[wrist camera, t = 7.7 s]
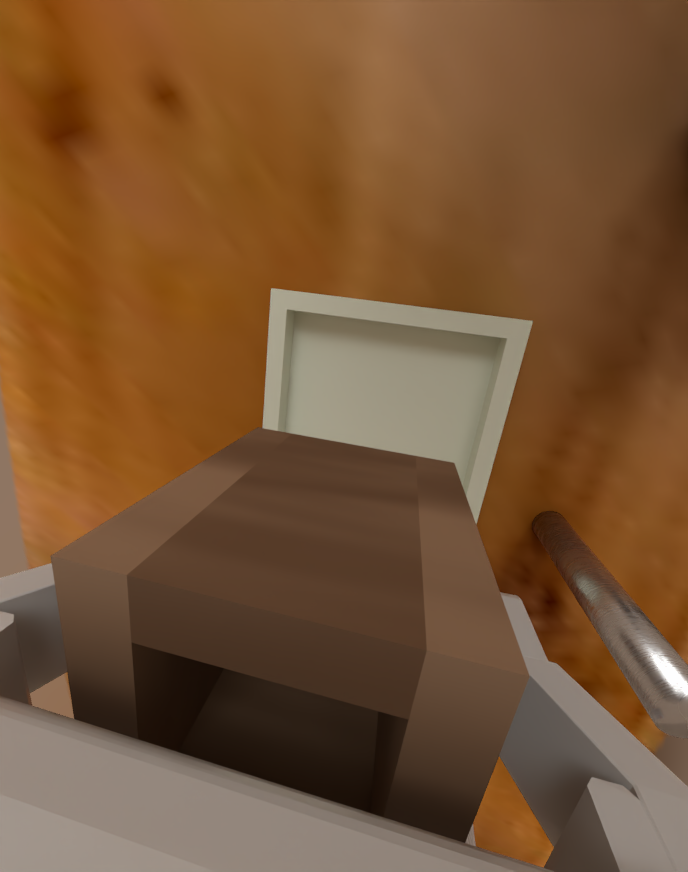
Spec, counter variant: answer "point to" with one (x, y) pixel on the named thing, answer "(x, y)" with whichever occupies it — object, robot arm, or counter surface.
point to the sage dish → (394, 378)
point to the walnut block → (302, 626)
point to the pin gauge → (620, 626)
